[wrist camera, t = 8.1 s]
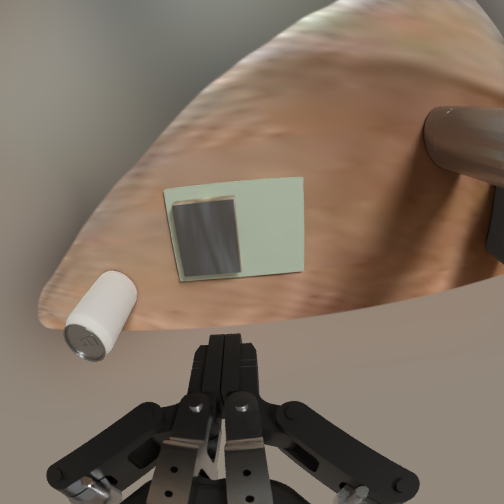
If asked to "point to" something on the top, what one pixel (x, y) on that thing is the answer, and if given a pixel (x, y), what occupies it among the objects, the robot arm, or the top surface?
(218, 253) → the tile
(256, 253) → the mat
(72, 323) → the can
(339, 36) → the top surface
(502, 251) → the storage bin
